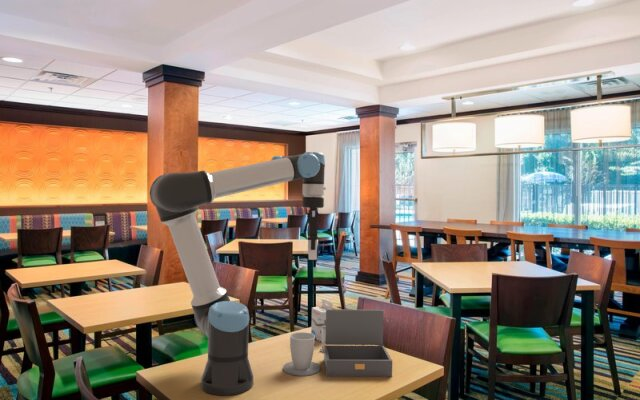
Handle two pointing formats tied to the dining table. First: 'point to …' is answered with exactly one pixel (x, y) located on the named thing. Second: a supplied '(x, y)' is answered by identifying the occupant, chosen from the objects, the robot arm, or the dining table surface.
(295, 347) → the cup
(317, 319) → the ink box
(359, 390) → the dining table surface
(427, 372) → the dining table surface
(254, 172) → the robot arm
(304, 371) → the slate coaster
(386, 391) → the dining table surface
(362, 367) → the case
